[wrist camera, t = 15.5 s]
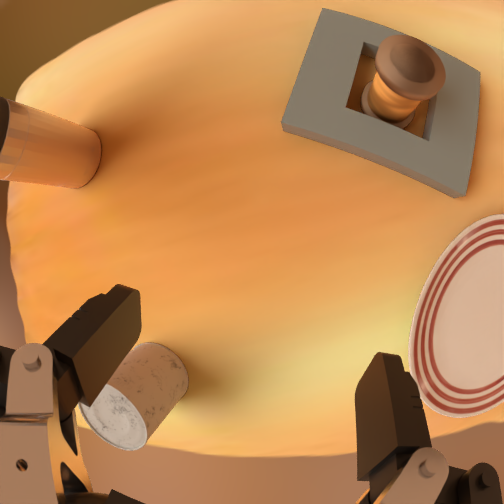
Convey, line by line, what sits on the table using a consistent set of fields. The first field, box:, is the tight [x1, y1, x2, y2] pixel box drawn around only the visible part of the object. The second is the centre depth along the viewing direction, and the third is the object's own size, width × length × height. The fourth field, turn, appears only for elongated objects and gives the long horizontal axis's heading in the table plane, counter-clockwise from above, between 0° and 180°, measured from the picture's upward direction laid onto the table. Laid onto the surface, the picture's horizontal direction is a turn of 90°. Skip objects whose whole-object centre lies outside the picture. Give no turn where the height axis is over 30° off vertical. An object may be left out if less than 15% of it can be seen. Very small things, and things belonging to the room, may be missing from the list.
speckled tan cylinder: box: [78, 343, 189, 451], centre depth 32 cm, size 10×10×12 cm
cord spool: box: [360, 35, 446, 129], centre depth 25 cm, size 7×7×11 cm
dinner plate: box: [408, 214, 504, 418], centre depth 28 cm, size 27×27×3 cm
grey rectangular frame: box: [281, 8, 480, 198], centre depth 28 cm, size 22×18×3 cm
